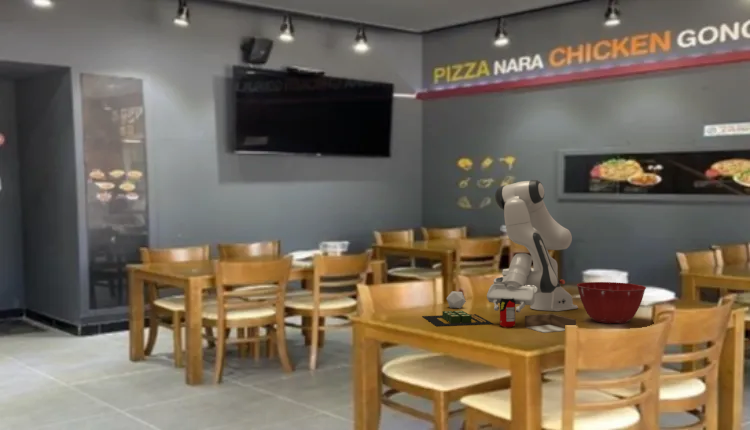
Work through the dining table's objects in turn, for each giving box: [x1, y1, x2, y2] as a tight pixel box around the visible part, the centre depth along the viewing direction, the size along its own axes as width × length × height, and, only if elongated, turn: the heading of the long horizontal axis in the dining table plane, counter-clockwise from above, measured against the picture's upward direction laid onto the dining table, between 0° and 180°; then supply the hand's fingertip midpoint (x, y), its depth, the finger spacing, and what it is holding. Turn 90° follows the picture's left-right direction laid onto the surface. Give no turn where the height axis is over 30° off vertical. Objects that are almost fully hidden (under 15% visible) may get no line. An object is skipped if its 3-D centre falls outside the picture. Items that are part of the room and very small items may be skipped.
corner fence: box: [524, 313, 577, 334], centre depth 320 cm, size 14×16×4 cm
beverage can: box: [499, 297, 516, 328], centre depth 326 cm, size 6×6×12 cm
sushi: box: [421, 310, 494, 328], centre depth 342 cm, size 25×25×4 cm
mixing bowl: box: [576, 281, 647, 324], centre depth 338 cm, size 28×28×16 cm
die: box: [446, 290, 466, 309], centre depth 376 cm, size 8×9×10 cm
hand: (506, 310), depth 326 cm, fingers open, 8 cm apart
